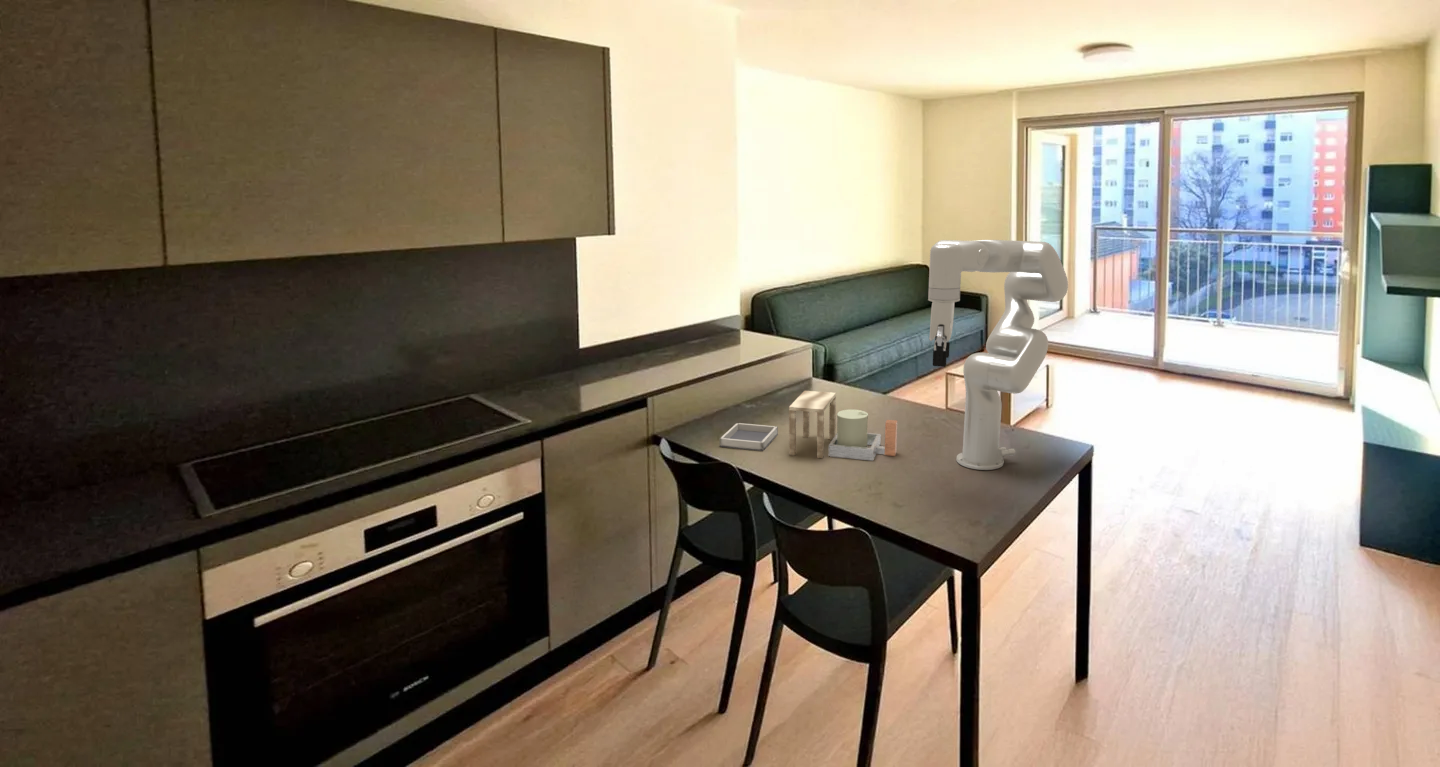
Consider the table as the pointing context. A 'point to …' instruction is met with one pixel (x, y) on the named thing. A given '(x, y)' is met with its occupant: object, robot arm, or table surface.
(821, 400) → the wooden stool
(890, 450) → the shallow grey tray
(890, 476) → the table surface
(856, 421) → the can
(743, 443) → the tray
